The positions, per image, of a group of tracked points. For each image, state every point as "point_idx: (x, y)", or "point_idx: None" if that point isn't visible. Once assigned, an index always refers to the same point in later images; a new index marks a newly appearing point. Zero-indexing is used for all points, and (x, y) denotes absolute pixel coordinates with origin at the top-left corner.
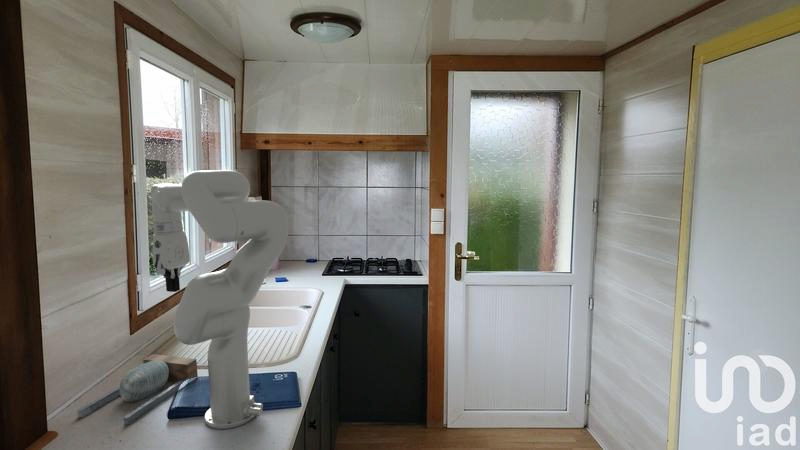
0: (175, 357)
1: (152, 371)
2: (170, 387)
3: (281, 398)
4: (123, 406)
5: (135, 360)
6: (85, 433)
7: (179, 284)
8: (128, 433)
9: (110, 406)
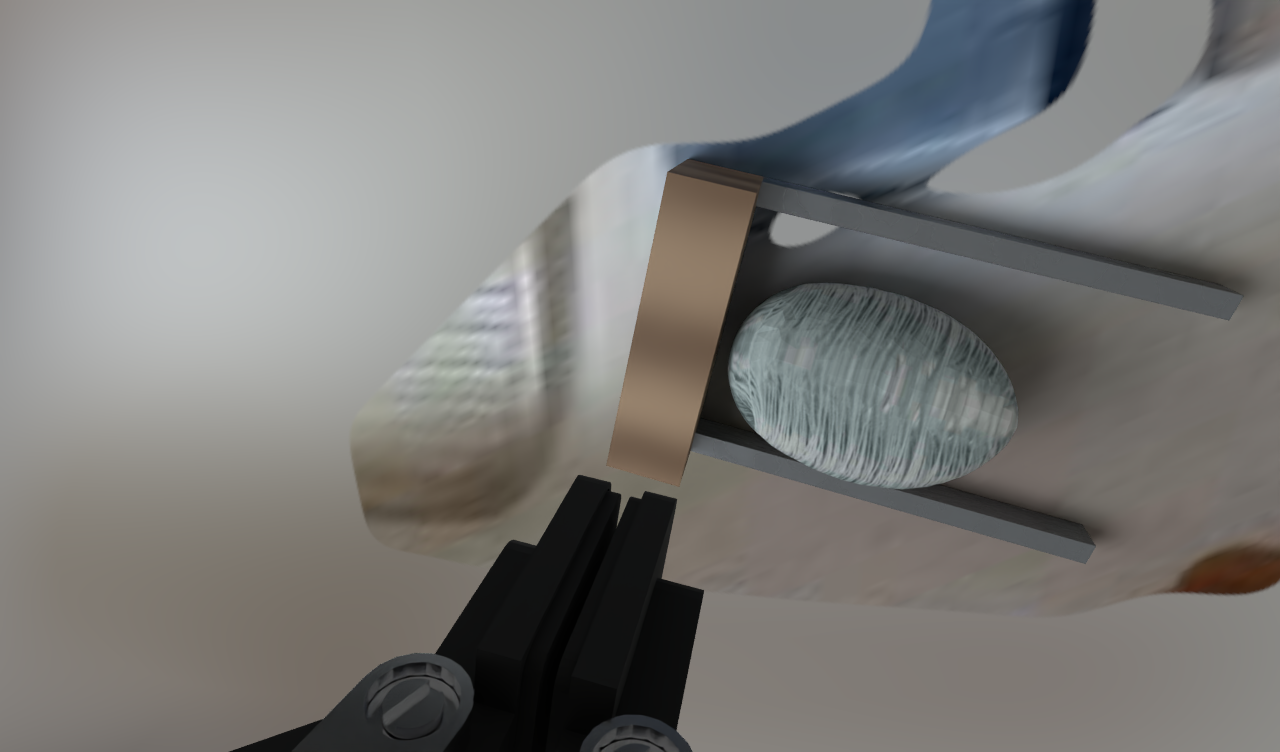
0: (646, 321)
1: (895, 353)
2: (884, 229)
3: None
4: None
5: None
6: (1247, 445)
7: (546, 531)
8: None
9: None
